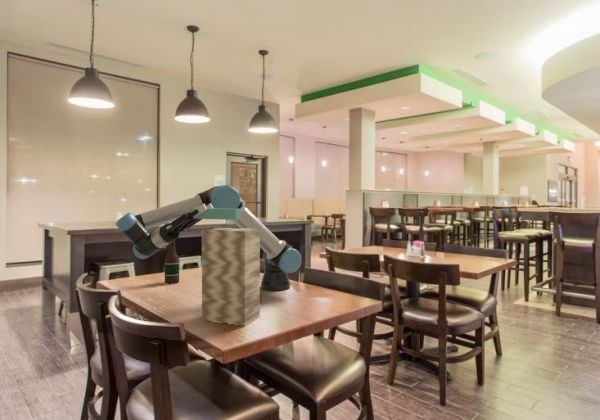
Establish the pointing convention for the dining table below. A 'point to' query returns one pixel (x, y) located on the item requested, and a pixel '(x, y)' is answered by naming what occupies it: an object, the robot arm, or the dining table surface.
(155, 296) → the dining table surface
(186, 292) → the dining table surface
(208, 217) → the bar
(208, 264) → the tall wood-grain block
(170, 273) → the beer bottle
